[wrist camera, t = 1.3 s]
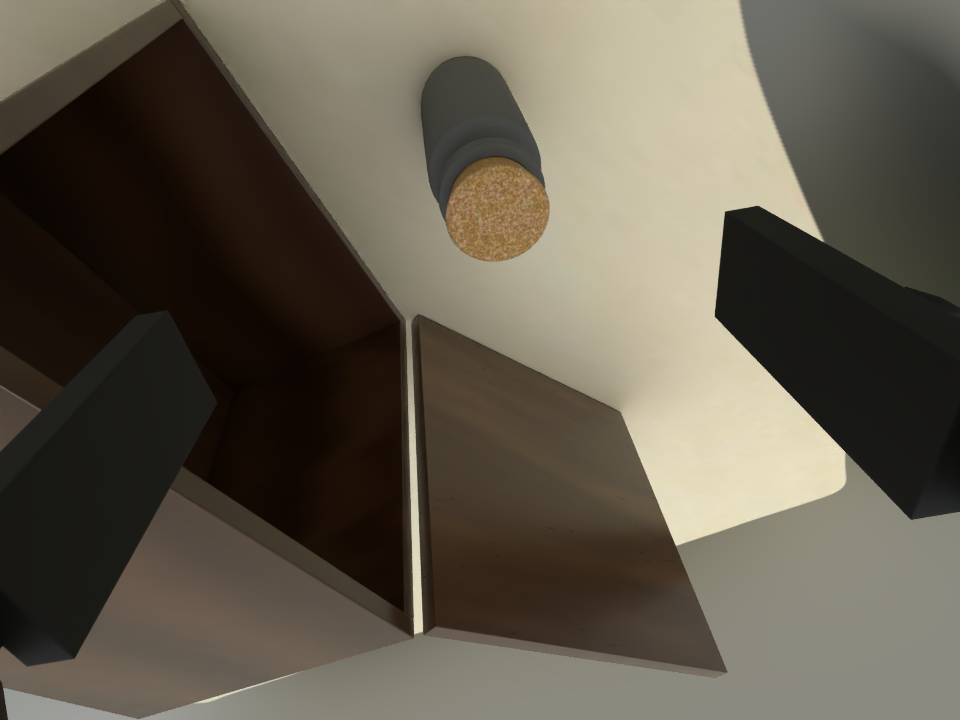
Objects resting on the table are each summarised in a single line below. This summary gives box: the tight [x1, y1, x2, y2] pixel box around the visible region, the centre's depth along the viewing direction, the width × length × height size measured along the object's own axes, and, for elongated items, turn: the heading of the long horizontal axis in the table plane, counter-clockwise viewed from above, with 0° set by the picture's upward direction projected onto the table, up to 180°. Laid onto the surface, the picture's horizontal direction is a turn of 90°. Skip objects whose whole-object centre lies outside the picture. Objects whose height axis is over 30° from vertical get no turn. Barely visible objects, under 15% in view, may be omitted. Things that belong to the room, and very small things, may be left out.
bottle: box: [421, 56, 549, 261], centre depth 29 cm, size 6×6×15 cm
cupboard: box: [0, 0, 414, 719], centre depth 30 cm, size 18×26×26 cm
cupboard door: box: [411, 315, 727, 678], centre depth 44 cm, size 7×26×26 cm, turn 53°
